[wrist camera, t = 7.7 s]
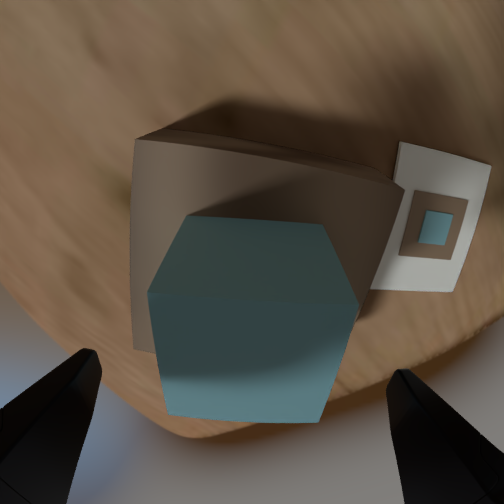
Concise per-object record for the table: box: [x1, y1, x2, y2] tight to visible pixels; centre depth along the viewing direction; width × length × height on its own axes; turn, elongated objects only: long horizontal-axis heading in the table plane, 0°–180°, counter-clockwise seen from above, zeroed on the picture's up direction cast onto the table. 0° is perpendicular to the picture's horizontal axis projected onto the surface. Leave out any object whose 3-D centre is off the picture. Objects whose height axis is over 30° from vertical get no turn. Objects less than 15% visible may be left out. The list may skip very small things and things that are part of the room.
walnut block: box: [130, 128, 405, 354], centre depth 15 cm, size 10×10×4 cm
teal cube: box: [147, 215, 359, 423], centre depth 11 cm, size 5×5×5 cm
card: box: [370, 141, 491, 292], centre depth 15 cm, size 6×8×1 cm
